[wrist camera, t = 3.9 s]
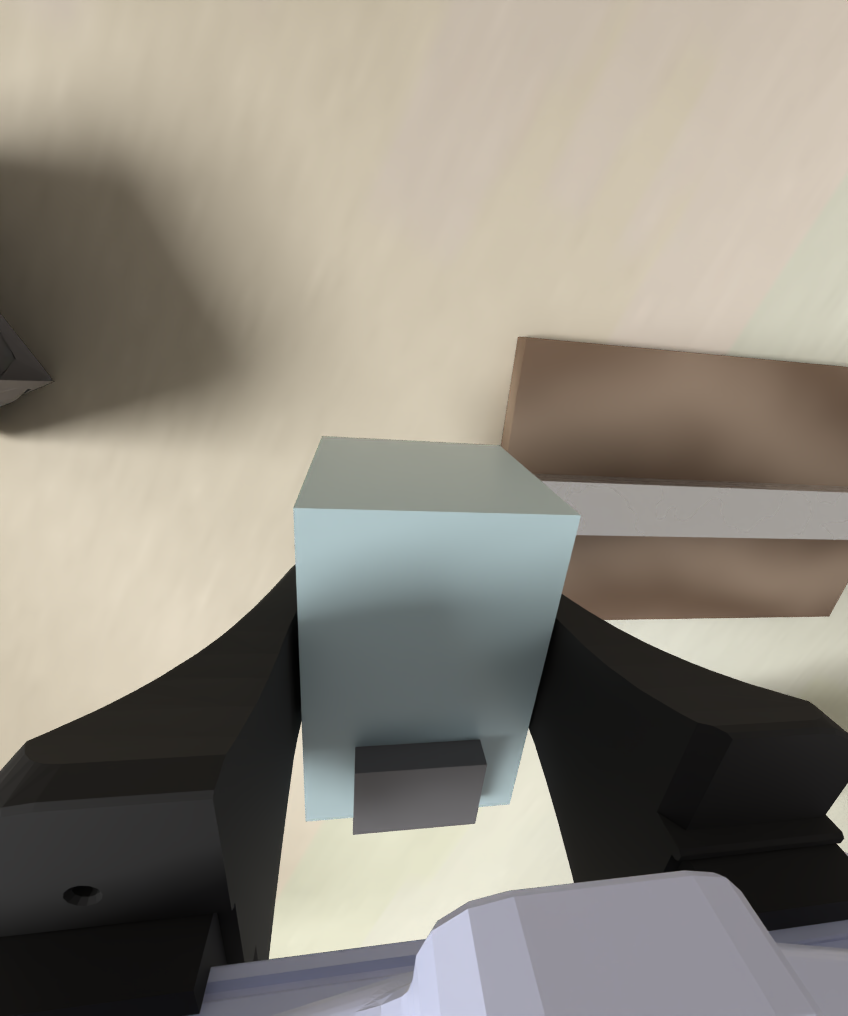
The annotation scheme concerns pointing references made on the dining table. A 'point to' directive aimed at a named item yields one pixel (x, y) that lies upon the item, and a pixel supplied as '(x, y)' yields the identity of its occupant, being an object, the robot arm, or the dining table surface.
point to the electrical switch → (17, 366)
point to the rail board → (689, 477)
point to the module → (421, 626)
